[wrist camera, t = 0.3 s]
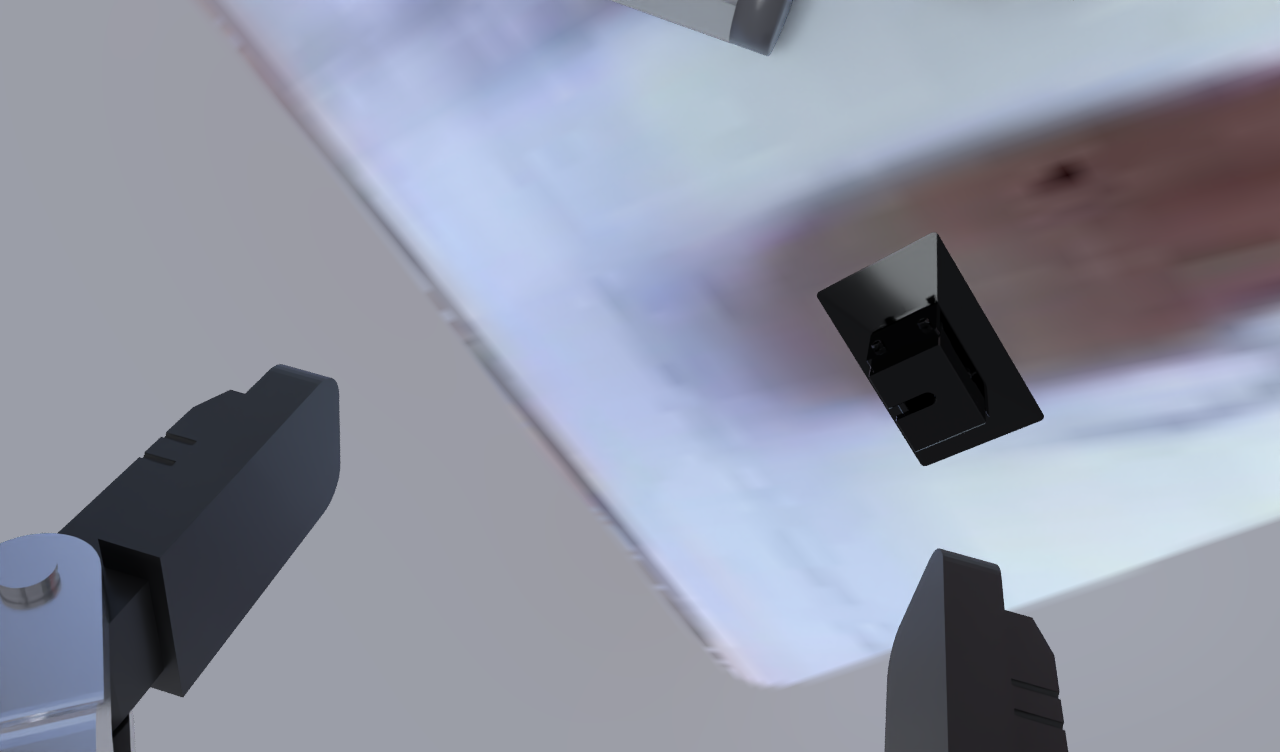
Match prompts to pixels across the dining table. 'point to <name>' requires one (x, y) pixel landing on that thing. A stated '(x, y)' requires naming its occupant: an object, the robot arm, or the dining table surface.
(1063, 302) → the dining table surface
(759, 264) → the dining table surface
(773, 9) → the chassis
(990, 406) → the black angular machine part
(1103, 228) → the dining table surface
